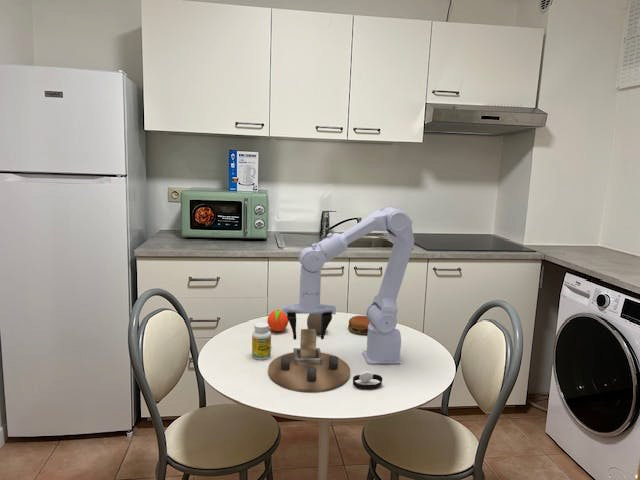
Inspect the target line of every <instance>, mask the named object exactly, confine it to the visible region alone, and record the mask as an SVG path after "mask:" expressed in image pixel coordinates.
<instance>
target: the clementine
mask: <svg viewBox="0 0 640 480" xmlns="http://www.w3.org/2000/svg"><path fill="white" fill-rule="evenodd" d="M266 321H267V322H266V323H267V324H269V329H270V330H272V331H273V332H282V331H284V330H285V329H286V328H287V327H288V325H289V321H288V318H287V314H283V310H280V309H276V310H274V311H272V312H270V313H269V315H268V317H267V320H266Z"/></svg>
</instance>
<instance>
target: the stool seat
mask: <svg viewBox="0 0 640 480" xmlns="http://www.w3.org/2000/svg"><path fill="white" fill-rule="evenodd" d="M292 350H293V352H287V353H285V354H282V355H280V356H278V357H276V358H274V359H273V360H272V361H270V363H269V364H268V368H267V370H268V371H267V372H268V377H269V379H270V380H271V381H272V382H273V383H274V384H276V385H277V386H280V387H282V388H284V389H287V390H290V391H293V392H294V391H295V392H300V393H322V392H323V393H324V392H329V391H332V390H335V389H338V388H340V387H342V386H343V385H345V384H346V383H348V381H349V379H350V378H351V377H350V376H351V369H350V366H349V365H348V363H347V362H346V361H345V360H343V359H342V358H340V357H338V356H336V355H332V354H330V353H327V352H321V348H320V347H316V358H300V347H294V348H293V349H292Z"/></svg>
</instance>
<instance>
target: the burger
mask: <svg viewBox="0 0 640 480" xmlns="http://www.w3.org/2000/svg"><path fill="white" fill-rule="evenodd" d="M369 323H370V321H369V319H368V318H367V315H354V316H352V317H350V318H349V320H348V327H347V330H348V331H349V333H353V334H357V335H368V325H369Z"/></svg>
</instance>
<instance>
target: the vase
mask: <svg viewBox="0 0 640 480" xmlns="http://www.w3.org/2000/svg"><path fill="white" fill-rule="evenodd" d="M306 319H307V320H306V325H307V326H306V327H307V329H315V331H316V336H317V335H319V336H320V333H321V314H308V315H307V318H306Z"/></svg>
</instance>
